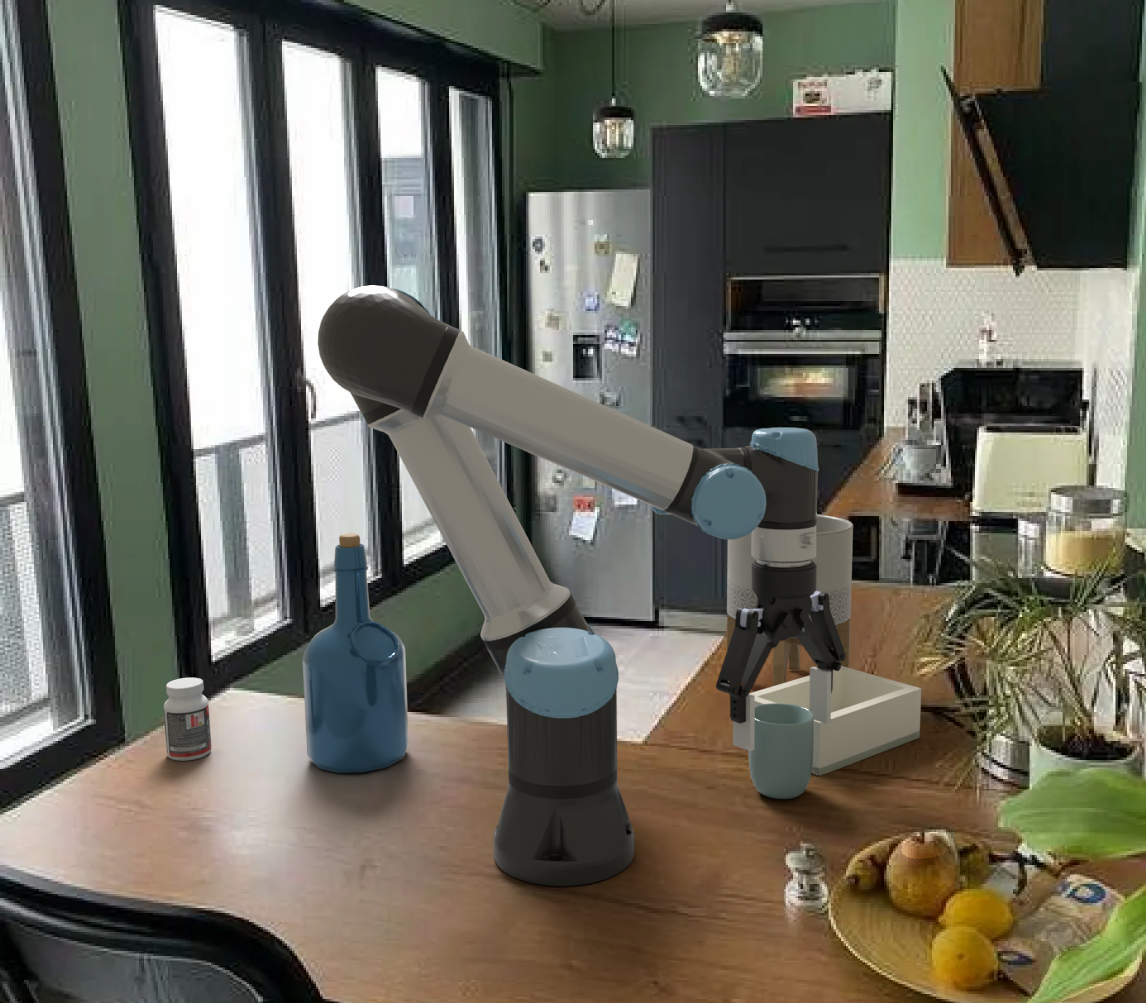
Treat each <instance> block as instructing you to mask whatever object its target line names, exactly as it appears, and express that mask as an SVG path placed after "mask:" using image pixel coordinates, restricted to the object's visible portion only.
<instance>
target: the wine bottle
mask: <svg viewBox="0 0 1146 1003" xmlns="http://www.w3.org/2000/svg"><path fill="white" fill-rule="evenodd" d="M338 541H339V542H338V543H339V544H337V545H336V546H335V549H334V559H333V562H334V563H333V569H332V570H333V572H334V573H335V574H334V578H335V580H334V582H335V585H334V587H335V619H334V622H333V623H332V624H331V625H329V626H328V627H326V628H323V629H321V630H320V631H319V632H317V633H316V634H315V635H314V636H313V637H312V638H311V640H310V641H309V643H308V644H307V646H306V647H305V650H304V652H303V655H302V675H303V676H302V677H303V679H302V680H303V698H304V717H305V735H306V736H305V737H306V754H307V757H308V759H309V760H310V762H312V764H313V765H314V766H316V767H317V768H318V769H319V770H324V771H329V772H334V773H338V774H348V773H349V774H357V773H360V774H361V773H367V772H372V771H376V770H380V769H381V770H382V769H385V768H389V767H390V766H392V765H394V764H396V763H397V762H399V761H401V760H403V759H404V757H405V755H406V753H407V749H408V746H409V722H408V721H409V720H408V691H407V690H408V689H407V665H406V664H407V663H406V646H405V644H404V643H403V641H402V638H401V637H400V636H399V635H398V634H397V633H395V632H394V631H393V630H391V629H390V628H388V627H387V626H384V625H383V624H381V623H379V622H377V621H374V619H373V618H372V617H371V611H370V600H369V598H370V597H369V587H368V586H369V585H368V575H367V574H368V573H367V571H368V569H369V566H368V560H367V554H366V547H365V544H363V543H361V537H360V535H359V533H343V534H341V535H339V537H338Z"/></svg>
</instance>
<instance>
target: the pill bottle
mask: <svg viewBox="0 0 1146 1003" xmlns="http://www.w3.org/2000/svg"><path fill="white" fill-rule="evenodd" d="M165 688H166V690H165V692H166V695H167V696H168V699H167V700H166V701H165V702H164V705H163V717H164V731H165V732H164V733H165V734H164V735H165V746H166V747H165V748H166V755H167V757H168V758H169V759H171V760H174V761H179V762H180V761H181V762H184V761H185V762H186V761H194V760H198V759H201V758H205V757H206V756H208V755H209V754H210V753H211V751H212V738H211V737H212V736H211V735H212V734H211V721H210V720H211V719H210V708H209V700H208V698H207V697H206V696H205V695H204V694H203V691H204V689H205V686H204V680H203V679H201V678H199V677H198V678H197V677H183V678H181V677H180V678H177V679H174V680H171V681H169V682H167V684H166V687H165Z"/></svg>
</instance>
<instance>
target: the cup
mask: <svg viewBox="0 0 1146 1003" xmlns="http://www.w3.org/2000/svg"><path fill="white" fill-rule="evenodd" d="M747 751H748V750H747ZM813 755H814V716H813V713H812V712H811V711H810V710H809V709H807V708H805V707H801V706H797V705H792V704H781V703H771V704H762V705H758V706H755V731H754V750H752V751H748V767H749V774H750V778H751V781H752V784H753V786H754V787H755V789H756V790H757V791H758V792H759V793H760V794H761V795H763V796H765V797H767V798H771V799H776V800H790V799H794V798H798V797H799V796H801V795H802V794H803V793H804V792H805V791H806V789H807V788H808V786H809V783H810V782H811V781H810V780H811V778H812V774H811V773H812V766H813Z"/></svg>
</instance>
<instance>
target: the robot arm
mask: <svg viewBox="0 0 1146 1003" xmlns="http://www.w3.org/2000/svg"><path fill="white" fill-rule="evenodd" d="M464 332H465V331H463V330H461V329H459V328H456V327H454V326H452V325H450V324H448V323H446V322H444V321H442V320H439V319H438V318H436V317H434V316H433V315H431V313H430V311H429V310H428V309H427V308H426V307H425V306H424V305H423V304H422V302H421V301H420V300H418V299H417V298H415V297H414V296H413V295H411V294H409V293H407V292H405V291H402V290H401V289H397V288H393V287H387V286H384V285H365V286H364V285H363V286H359V287H356V288H352V289H350V290H348V291H346V292H344V293H343V294H341V295H340V296H338V297H337V298H336V299H335V300H334V301H333V302H332V303H331V304H330V305H329V307H328V308H327V309H326V311H325V312H324V315H323V316H322V318H321V321H320V324H319V328H318V333H317V348H318V354H319V357H320V360H321V362H322V365H323V367H324V369H325V371H326V372H327V374H328V375H329V376H330V377H331V379H332V380H333V381H334V382H335V383H336V384H337V385H338V386H340V388H341V389H344V391H347V392H348V393H350V395H351V396H352V399H353V400H354V402H355V405H356V406H357V408H358V410H359V412H360V413H361V415H362V417H363V419H364V420H365V422H366V424H367V426H368V427H369V428H370V429H374V430H376V431H379V432H383V433H385V434H386V435H388V437H389V439H390V441H391V442H392V444H393V446H394V448H395V450H396V451H397V453H398V455H399V457H400V459H401V461H402V463H403V465H404V466H405V470H406V471H407V473H408V475H409V476H410V478H411V480H412V482H413V484H414V485H415V487H416V489H417V491H418V493H419V495H420V497H421V498H422V501H423V503H424V505H425V506H426V509H427V510H428V513H429V514H430V516H431V518H432V519H433V521H434V523H435V525H436V527H437V529H438V530H439V532H440V534H441V536H442V538H443V540H444V542H445V544H446V546H447V547H448V549H449V551H450V553H451V556H452V557H453V559H454V561H455V563H456V564H457V566H458V568H459V570H460V572H461V574H462V576H463V578H464V580H465V582H466V583H467V585H468V587H469V589H470V591H471V593H472V595H473V597H474V598H475V600H476V602H477V604H478V606H479V608H480V610H481V611H482V613H483V616H484V620H483V624H482V627H481V631H480V637H481V640H482V641H483V643H484V646H485V647H486V649H487V651H488V653H489V654H490V656H491V659H492V660H493V663H494V664H495V666H496V667H497V670H498V672H499V674H500V675H501V677H502V681H504V684H505V697H506V698H505V700H506V701H505V702H506V721H507V722H506V724H507V727H506V728H507V732H506V733H507V734H506V735H507V768H508V769H507V770H508V771H507V772H508V773H507V774H508V783H507V784H508V786H507V789H506V793H505V796H504V800H503V804H502V807H501V811H500V815H499V818H498V822H497V825H496V826H495V830H494V832H493V838H492V839H493V840H492V841H493V842H492V844H493V845H492V846H493V860H494V861H495V864H496V865H497V866H498V867H499V868H500V870H502V871H503V872H504V873H506V874H507V875H509V876H511V877H513V878H516V879H518V880H521V881H523V882H527V883H530V884H531V883H532V884H535V885H543V886H552V887H553V886H554V887H559V886H560V887H567V886H568V887H569V886H580V885H581V886H582V885H587V884H592V883H593V884H594V883H597V882H601V881H604V880H607V879H609V878H612V877H614V876H616V875H617V874H619V873H621V872H623V871H624V870H625V869H626V868H628V867H629V865H630V864H631V863H632V861H633V859H634V856H635V834H634V829H633V826H632V824H631V821H630V817H629V814H628V812H627V809H626V805H625V803H624V799H623V797H622V793H621V791H620V788H619V785H618V712H617V711H618V703H617V700H618V696H617V695H618V694H617V689H618V684H619V678H620V677H619V676H620V673H619V668H618V665H617V658H616V657H617V656H616V652H615V650H614V648H613V646H612V645H611V643H610V642H609V641H608V640H606V639H605V638H604V637H603V636H601V635H599V634H596V633H595V631H594V629H592V627H591V626H590V625H589V624H588V623H587V621H586V619H585V618H584V616H583V614H582V612H581V610H580V608H579V606H578V604H577V602H576V600H575V599H574V597H573V595H572V593H571V590H570V589H569V588H568V587H565V586H562V585H559V584H556V583H554V582H552V581H550V578H549V577H548V574H547V573H546V570H545V569H544V567H543V565H542V562H541V561H540V559H539V558H538V554H536V552H535V549H534V547H533V545H532V544H531V542H530V540H529V537H528V536H527V534H526V532H525V529H524V528H523V526H522V524H521V522H520V521H519V518H518V517H517V515H516V514H517V513H515V511H514V509H513V507H512V505H511V503H510V501H509V499H508V497H507V496H506V494H505V492H504V490H503V488H502V486H501V484H500V482H499V480H498V478H497V476H496V474H495V472H494V470H493V468H492V466H491V464H490V462H489V460H488V459H487V456H486V454H485V453H484V451H483V449H482V447H481V445H480V443H479V441H478V439H477V437H476V435H475V433H474V431H473V430H476V431H478V432H480V433H481V434H485V435H487V436H489V437H492V438H495V439H497V440H499V441H501V442H503V443H506V444H508V445H510V446H512V447H515V448H518V449H520V450H522V451H524V452H527V453H529V454H531V455H533V456H536V457H539V458H541V459H544V460H545V461H548V462H550V463H553V464H555V465H557V466H560V467H562V468H564V469H565V470H568V471H570V472H573V473H575V474H578V475H580V476H582V477H584V478H587V479H589V480H591V481H594V482H596V483H598V484H601V485H604V486H606V487H608V488H610V489H613V490H616V491H618V492H619V493H622V494H625V495H626V496H629V497H631V498H634V499H636V500H638V501H641V502H643V503H646V504H647V505H650V507H651V509H652V510H653V512H654V513H655V514H657V515H669V516H670V515H671V516H673V517H676V518H679V519H681V520H683V521H685V522H688V523H690V524H692V525H695V526H697V527H699V528H700V530H701V531H702V532H703V533H706V534H707V535H709V536H713V537H715V538H718V539H721V540H722V539H723V540H727V541H728V540H731V539H738V538H741V537H744V536H746V535H748V534H749V533H751V532H752V542H751V555H752V557H754V558H755V559H756V560H755V561H754V562H753V563H752V590H753V592H754V593H755V594H756V596H757V604H756V607H755V609H746V608H742V607H739V608H738V609H737V611H736V620H735V628H734V631H733V634H732V638H731V641H730V644H729V647H728V650H727V649H726V653H725V656H724V659H723V662H722V666H721V669H720V671H719V674H718V677H717V680H716V682H715V688H716V690H717V691H720V692H721V693H722V692H723V693H725V694H728V695H729V717H730V721H732V746H735V747H738V748H741V749H743V750H745V751H752V750H754V731H755V696H754V695H751V694H749V693H751V690H752V688H753V686H754V685H755V683H756V681H757V679H758V677H759V674H760V673H761V671H762V670H763V667H764V665H765V663H766V661H767V659H768V657H769V656H770V653H771V652H772V650H773V648H774V647H776V646H777V645H778V643H779V641H783V640H786V639H788V638H789V637H797V638H798V640H799V641H800V643H801V644H802V645H801V646H802V647H803V648H804V650H805V651H806V653H807V654H808V656H809V657H810V659H811V660H812V662H813V663H814V664H815V666H812V667H809V675H810V711H811V712H812V713H813V716H814V720H817V721H820V722H823V723H826V724H828V723H830V722H831V693H832V690H833V670H835V671H839V670H840V668H841V662H843V661H844V660H845V658H846V654H845V651H844V648H843V646H842V643H841V640H840V637H839V634H838V631H837V628H836V626H835V623H834V620H833V617H832V614H831V611H830V603H829V595H828V594H827V593H823V592H819V591H816V580H817V565H816V564H815V563H814V562H813V561H812V560H813V559H814V558H815V557H816V524H817V518H816V516H817V514H818V513H817V512H818V485H819V484H818V481H819V480H818V478H819V471H820V468H819V459H818V458H819V457H818V444H817V437H816V435H815V434H814V432H813V431H811V430H810V429H806V428H801V427H800V428H799V427H769V428H767V427H766V428H759V429H755V430H754V431H753V433H752V435H751V441H750V443H749V446H743V447H731V448H730V447H729V448H727V447H726V448H722V447H721V448H700V447H698V446H695V445H693V444H691V443H689V442H688V441H685V440H683V439H680V438H679V437H675V436H674V435H672V434H669V433H667V432H665V431H663V430H660V429H659V428H655V427H654V426H651V425H649V424H648V423H644V422H642V421H640V420H638V419H636V418H634V417H631V416H630V415H627V414H624V413H622V412H620V411H618V410H615V409H613V408H611V407H608V406H606V405H604V404H602V403H600V402H597V401H595V400H593V399H591V398H588V397H586V396H584V395H582V394H580V393H577V392H576V391H573V390H570V389H568V388H566V387H564V386H561V385H559V384H557V383H555V382H553V381H550V380H548V379H547V378H543V377H542V376H539V375H537V374H534V373H533V372H530V371H528V370H526V369H523V368H521V367H519V366H517V365H514V364H512V363H510V362H509V361H506V360H503V359H501V358H499V357H496V356H494V355H492V354H490V353H487V352H485V351H483V350H482V349H479V348H477V347H475V346H472V345H471V344H470V343H469V342H468V339H467V336H466V334H465V333H464ZM472 429H473V430H472ZM809 614H810V617H811V619H810V618H809ZM811 620H812V621H811ZM763 631H764V633H765V635H766V636H765V635H762V633H763ZM832 648H833V649H832ZM839 661H841V662H839ZM816 666H817V667H816ZM728 681H729V682H728Z"/></svg>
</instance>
